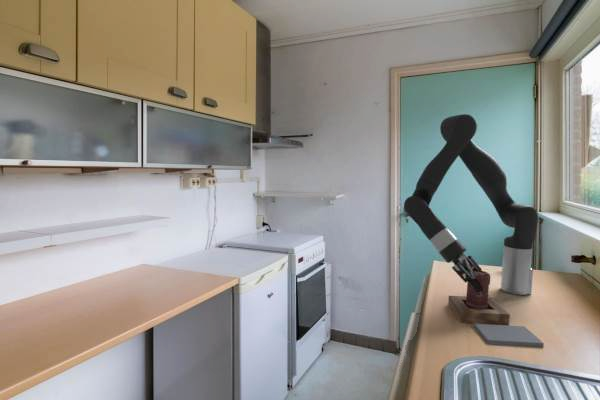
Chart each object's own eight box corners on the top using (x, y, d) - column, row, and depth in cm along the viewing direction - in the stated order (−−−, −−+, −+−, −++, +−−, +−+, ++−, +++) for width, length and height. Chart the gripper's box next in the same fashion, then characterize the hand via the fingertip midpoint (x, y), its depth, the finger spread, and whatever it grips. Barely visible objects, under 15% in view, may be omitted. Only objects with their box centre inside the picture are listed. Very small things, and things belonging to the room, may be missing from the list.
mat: (524, 329, 105) (524, 326, 105) (543, 346, 95) (543, 343, 95) (474, 326, 107) (474, 323, 107) (487, 343, 97) (488, 339, 97)
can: (490, 319, 112) (493, 275, 110) (468, 317, 113) (471, 274, 111) (484, 312, 118) (487, 270, 116) (463, 310, 119) (466, 268, 117)
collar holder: (489, 307, 121) (490, 297, 121) (508, 325, 108) (509, 314, 107) (448, 305, 123) (448, 295, 122) (461, 323, 109) (462, 311, 109)
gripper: (449, 241, 112) (488, 287, 106) (462, 235, 123) (499, 276, 117) (431, 255, 116) (468, 300, 110) (446, 247, 127) (480, 288, 121)
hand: (484, 287), depth 113 cm, fingers closed on can, 6 cm apart
